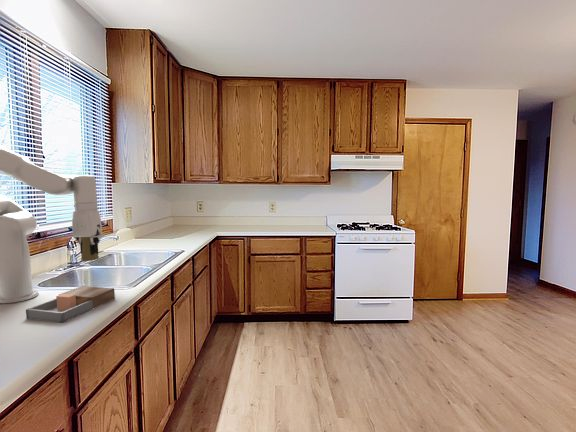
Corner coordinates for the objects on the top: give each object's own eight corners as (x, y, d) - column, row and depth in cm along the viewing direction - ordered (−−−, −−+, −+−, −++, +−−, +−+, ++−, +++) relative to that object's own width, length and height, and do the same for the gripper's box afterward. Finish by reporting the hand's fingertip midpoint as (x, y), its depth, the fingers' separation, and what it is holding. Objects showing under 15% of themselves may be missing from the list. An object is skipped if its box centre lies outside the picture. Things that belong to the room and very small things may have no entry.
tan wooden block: (59, 305, 116) (58, 294, 116) (83, 296, 126) (82, 285, 125) (92, 308, 113) (92, 297, 112) (114, 298, 122) (114, 288, 122)
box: (26, 318, 105) (25, 309, 105) (59, 305, 116) (58, 297, 116) (62, 322, 102) (61, 313, 101) (92, 308, 113) (92, 300, 112)
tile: (63, 308, 112) (57, 311, 110) (62, 293, 112) (56, 296, 109) (76, 309, 111) (70, 312, 109) (75, 294, 111) (69, 297, 108)
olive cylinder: (95, 256, 135) (93, 229, 134) (101, 258, 131) (99, 231, 130) (78, 259, 131) (76, 231, 129) (84, 261, 127) (82, 233, 126)
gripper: (60, 207, 127) (64, 255, 129) (96, 208, 123) (99, 256, 125) (77, 206, 134) (80, 251, 136) (111, 206, 130) (114, 252, 132)
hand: (89, 253), depth 131 cm, fingers closed on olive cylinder, 3 cm apart
